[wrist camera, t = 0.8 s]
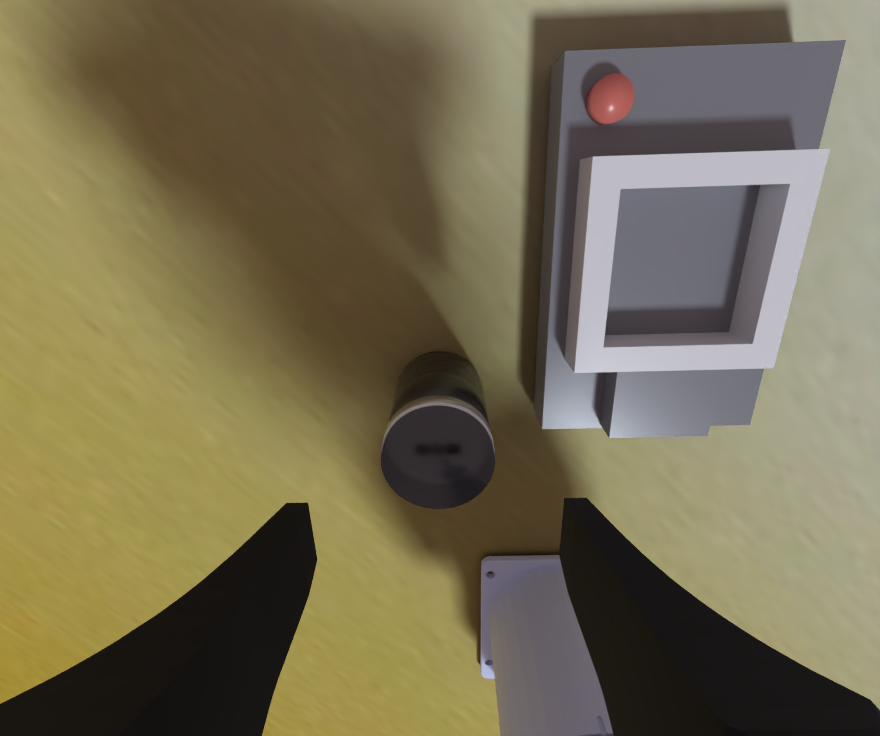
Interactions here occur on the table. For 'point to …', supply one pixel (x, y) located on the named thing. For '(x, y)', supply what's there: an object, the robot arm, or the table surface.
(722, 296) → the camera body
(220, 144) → the table surface
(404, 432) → the lens
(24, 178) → the table surface
